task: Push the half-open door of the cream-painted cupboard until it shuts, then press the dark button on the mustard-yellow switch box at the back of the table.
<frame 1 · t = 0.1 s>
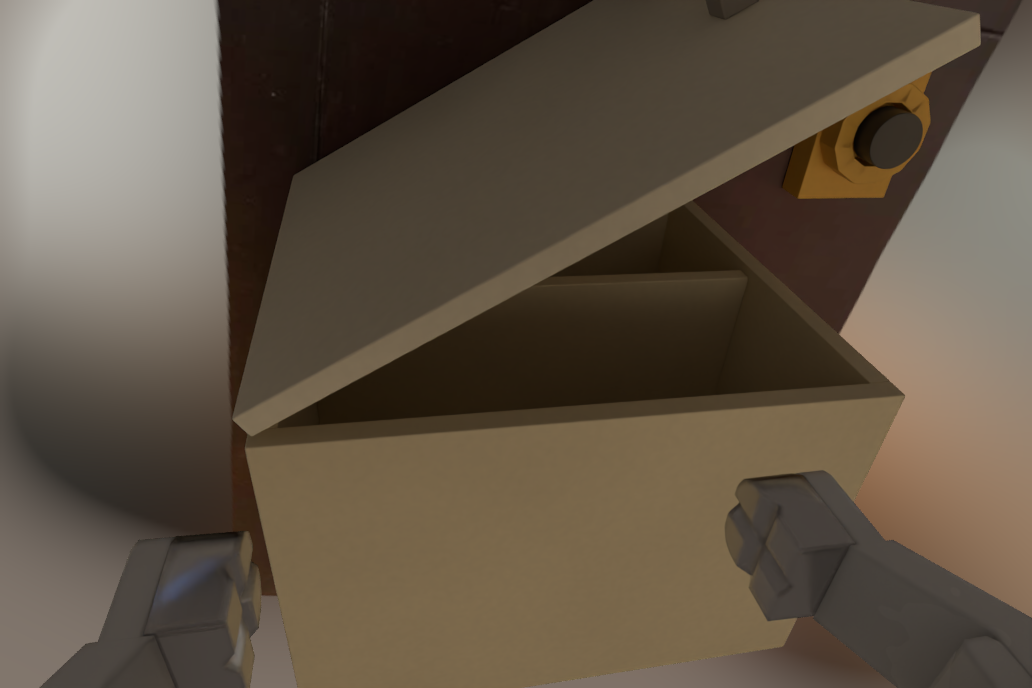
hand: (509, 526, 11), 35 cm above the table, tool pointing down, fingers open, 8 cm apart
door: (485, 75, 29), point 12 cm above the table, hinge at 30.0°
button: (887, 137, 43), point 4 cm above the table, slide at 0.1 cm
cupboard: (494, 306, 49), on the table
switch box: (846, 119, 46), on the table
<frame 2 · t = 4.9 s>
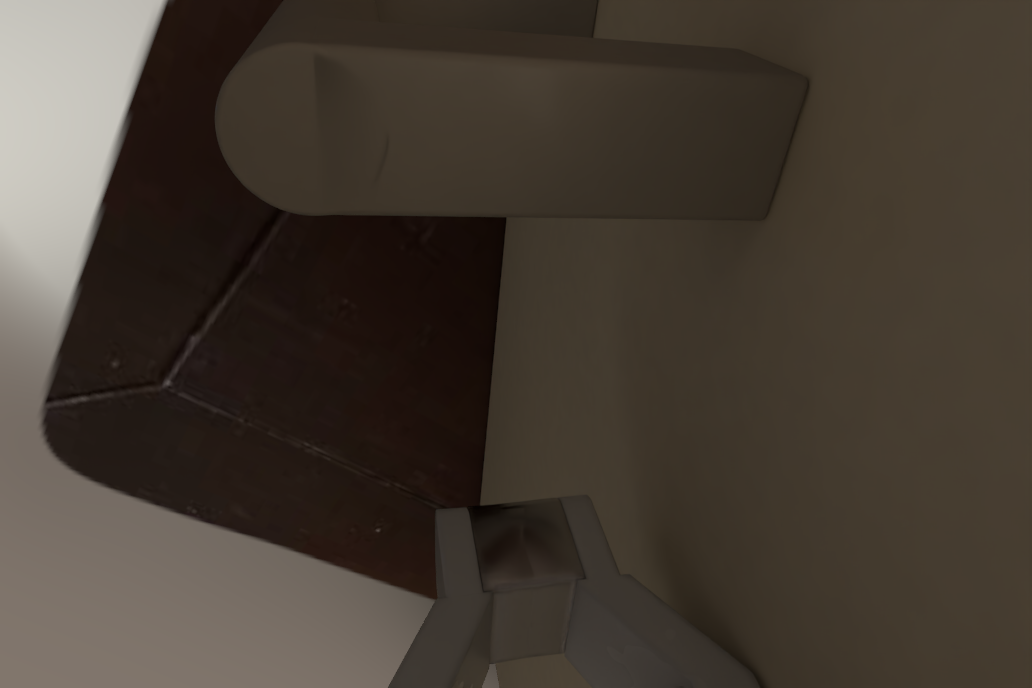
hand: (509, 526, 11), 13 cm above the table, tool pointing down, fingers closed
door: (479, 605, 14), point 12 cm above the table, hinge at 27.9°, touching gripper
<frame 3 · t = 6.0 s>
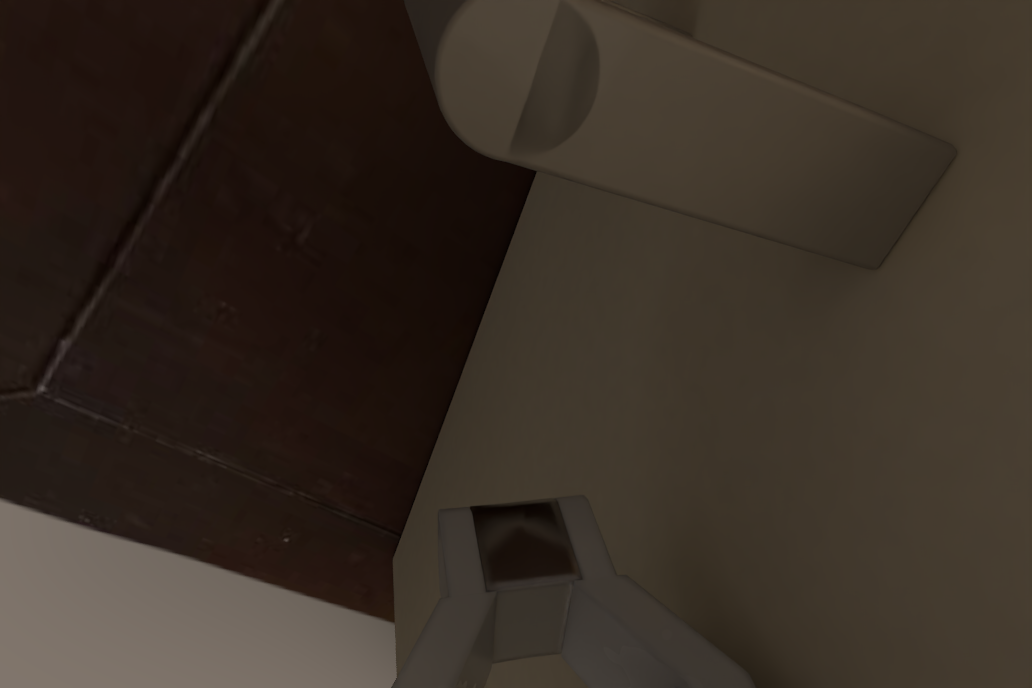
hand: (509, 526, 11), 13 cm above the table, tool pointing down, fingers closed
door: (447, 606, 14), point 12 cm above the table, hinge at 13.5°, touching gripper
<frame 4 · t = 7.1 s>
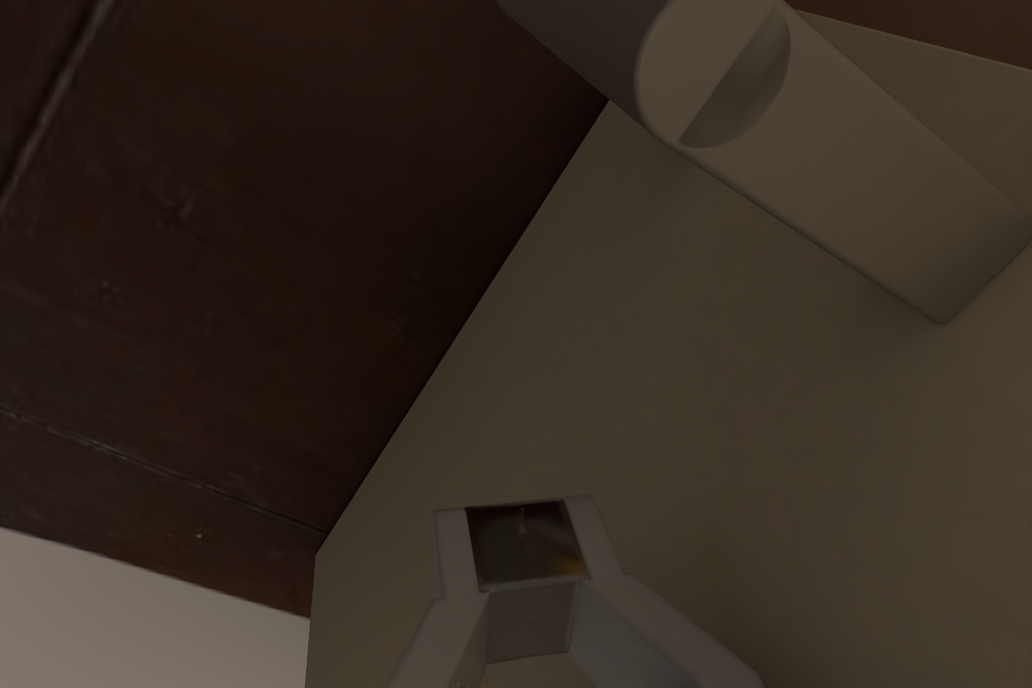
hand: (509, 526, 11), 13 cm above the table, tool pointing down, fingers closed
door: (423, 599, 13), point 12 cm above the table, hinge at 1.1°, touching gripper
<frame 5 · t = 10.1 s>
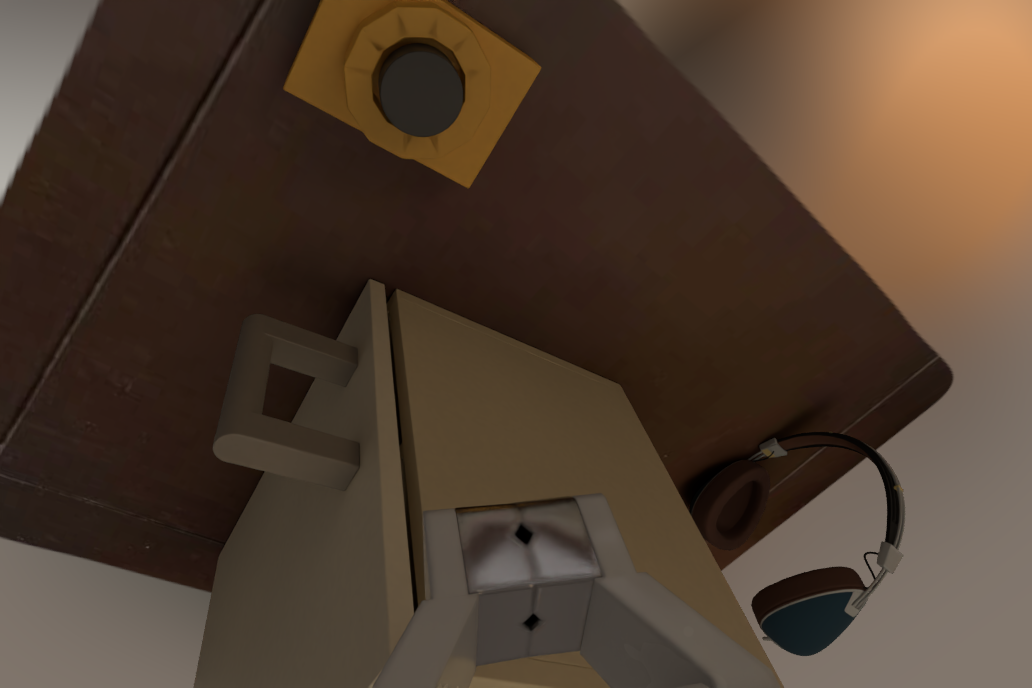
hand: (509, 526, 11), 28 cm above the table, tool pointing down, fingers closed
door: (220, 578, 33), point 12 cm above the table, hinge at 1.1°
button: (420, 90, 29), point 4 cm above the table, slide at 0.1 cm
headphones: (719, 479, 57), on the table, touching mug
cupboard: (424, 472, 49), on the table
switch box: (412, 67, 33), on the table
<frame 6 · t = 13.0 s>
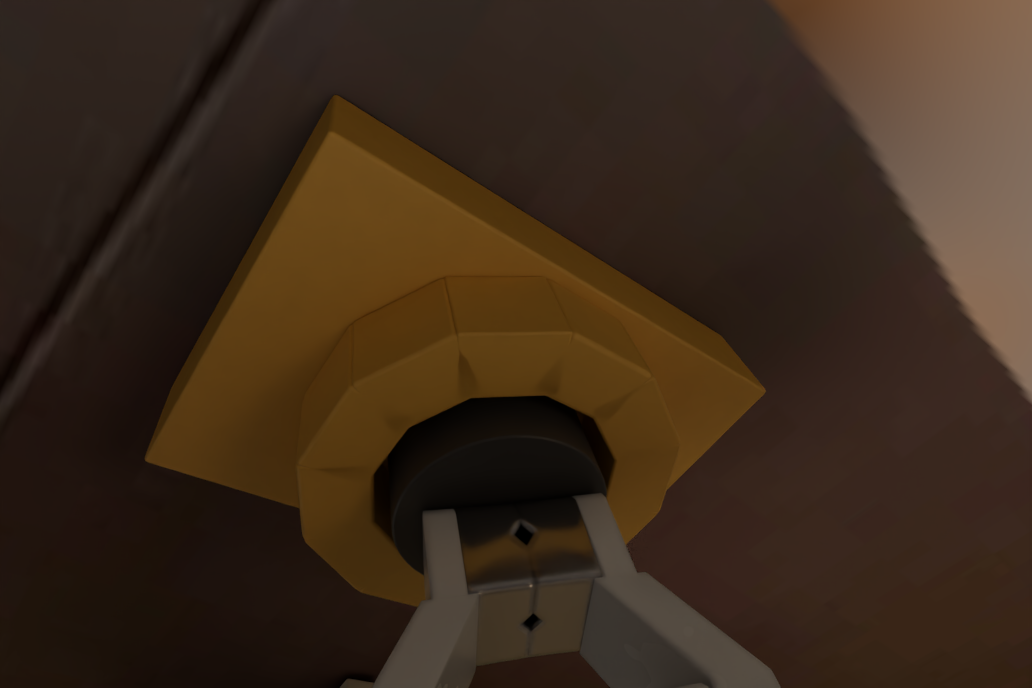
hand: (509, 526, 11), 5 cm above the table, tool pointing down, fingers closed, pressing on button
button: (493, 481, 12), point 4 cm above the table, slide at -0.7 cm, touching gripper
switch box: (466, 359, 15), on the table
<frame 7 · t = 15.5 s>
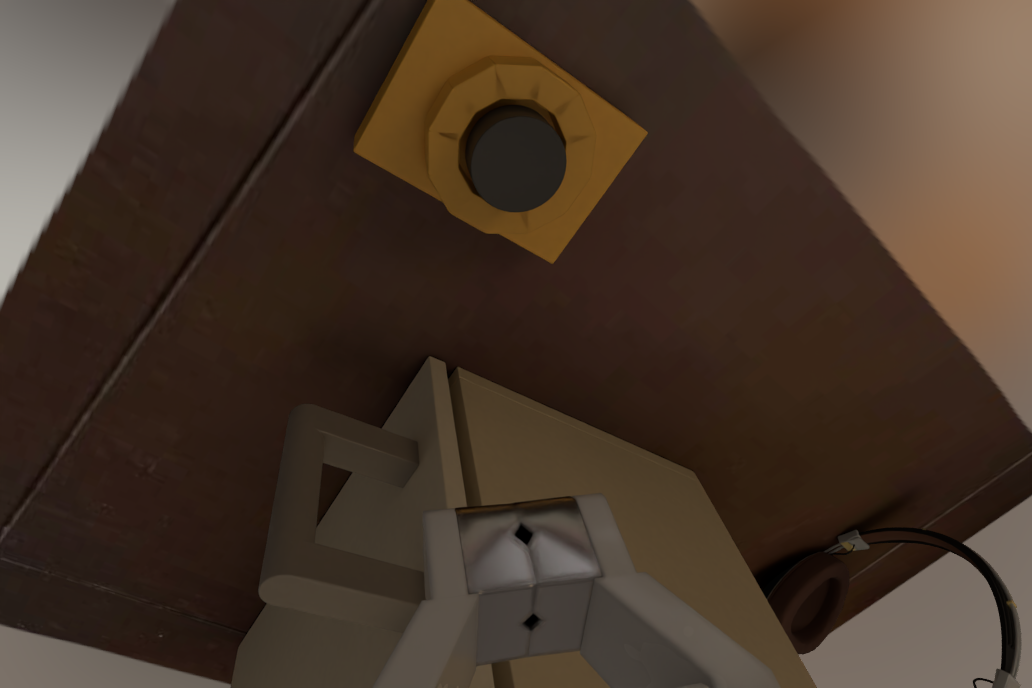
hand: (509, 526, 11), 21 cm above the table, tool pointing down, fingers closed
button: (515, 159, 25), point 4 cm above the table, slide at 0.1 cm
headphones: (790, 571, 51), on the table, touching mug
cupboard: (470, 561, 44), on the table
switch box: (497, 127, 29), on the table
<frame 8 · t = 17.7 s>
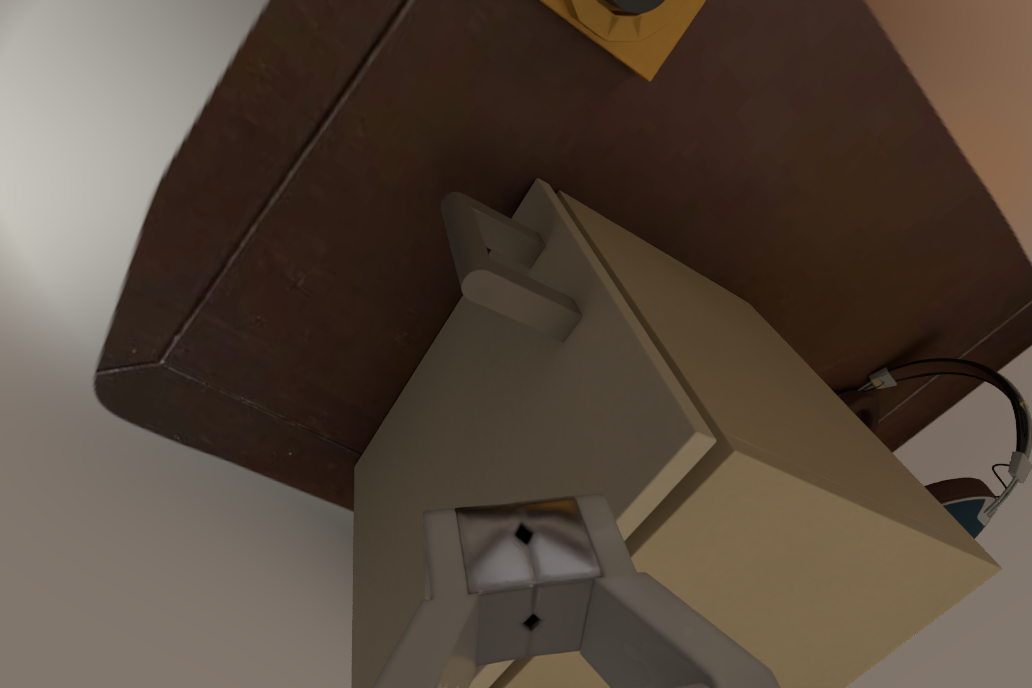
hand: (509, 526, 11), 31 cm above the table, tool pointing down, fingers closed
door: (415, 443, 35), point 12 cm above the table, hinge at 1.1°
headphones: (826, 411, 58), on the table, touching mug
cupboard: (555, 388, 50), on the table
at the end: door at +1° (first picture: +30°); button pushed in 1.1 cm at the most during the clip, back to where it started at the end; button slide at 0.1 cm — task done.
